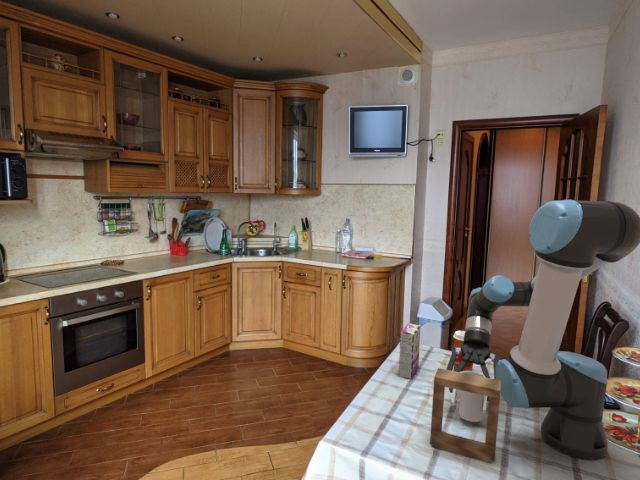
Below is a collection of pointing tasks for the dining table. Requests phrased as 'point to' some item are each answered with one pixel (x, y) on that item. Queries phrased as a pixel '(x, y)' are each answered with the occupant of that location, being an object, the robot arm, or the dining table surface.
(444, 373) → the brown wooden frame
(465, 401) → the mug
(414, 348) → the candy bar box
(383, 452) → the dining table surface
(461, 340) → the coffee cup
